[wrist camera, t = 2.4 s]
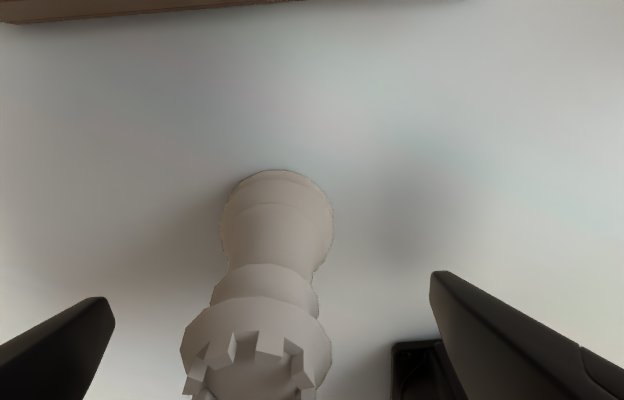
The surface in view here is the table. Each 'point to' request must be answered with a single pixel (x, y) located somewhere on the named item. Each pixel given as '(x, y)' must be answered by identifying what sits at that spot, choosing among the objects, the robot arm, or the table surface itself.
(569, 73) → the table surface
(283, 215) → the rook chess piece
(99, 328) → the robot arm
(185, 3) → the tray
